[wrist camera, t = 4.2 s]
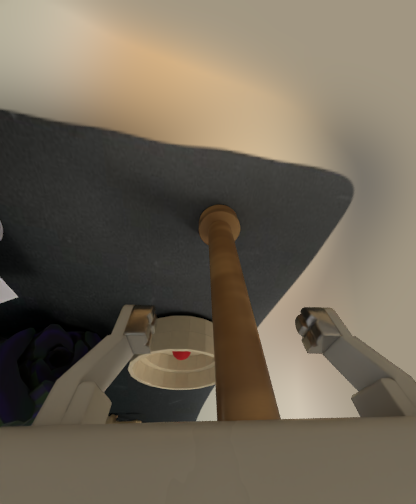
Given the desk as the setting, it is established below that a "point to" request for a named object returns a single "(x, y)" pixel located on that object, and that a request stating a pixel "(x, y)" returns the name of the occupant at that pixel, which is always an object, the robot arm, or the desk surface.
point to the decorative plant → (36, 368)
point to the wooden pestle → (234, 326)
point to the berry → (181, 354)
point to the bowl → (167, 366)
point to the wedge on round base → (3, 291)
